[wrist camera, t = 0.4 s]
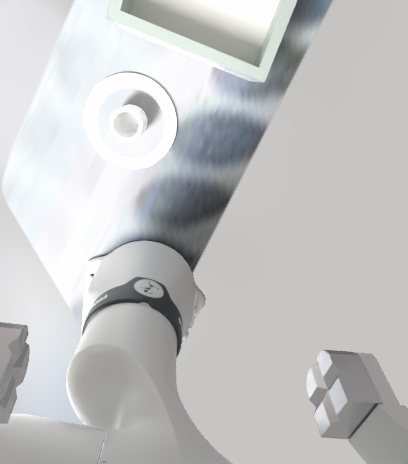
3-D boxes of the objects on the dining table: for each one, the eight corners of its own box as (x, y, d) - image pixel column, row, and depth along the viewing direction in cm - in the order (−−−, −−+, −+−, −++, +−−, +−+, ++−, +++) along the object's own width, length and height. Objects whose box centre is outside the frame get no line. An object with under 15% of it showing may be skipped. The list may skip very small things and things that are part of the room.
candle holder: (151, 183, 53) (146, 191, 49) (70, 138, 51) (59, 143, 47) (194, 105, 50) (193, 107, 46) (109, 53, 47) (101, 51, 43)
